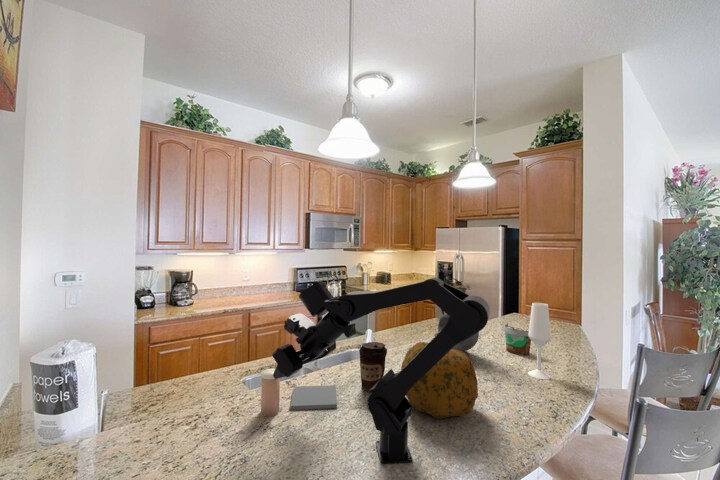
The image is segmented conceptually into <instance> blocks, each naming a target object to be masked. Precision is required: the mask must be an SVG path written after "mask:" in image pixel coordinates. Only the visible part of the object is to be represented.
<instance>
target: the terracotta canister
mask: <svg viewBox="0 0 720 480" xmlns="http://www.w3.org/2000/svg"><path fill="white" fill-rule="evenodd" d="M275 369H276V368H266V369H264V370H262V371H261V372H260V375H261V377H260V378H261V383H260V384H261V388H260V391H261V392H260V393H261V394H260V395H261V396H260V416H263V417H273V416H275V415H278V414H279V412H280V397H281V396H280V395H281V394H280V389H281V386H280V385H281V384H280V383H281V378H277V379H275V378H274V376H273V374H274V371H275Z"/></svg>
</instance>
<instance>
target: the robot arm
mask: <svg viewBox="0 0 720 480" xmlns="http://www.w3.org/2000/svg"><path fill="white" fill-rule="evenodd" d="M298 298H299V300H300V301H301V302H302V304H303V306H305V309H307V310H308V312H309V314H310V315H311V316H312V317H313V318H314V317H316V316H317V317H318V318H321V317H322V319H320V320H319V321H318V322H317V323H314V321H313V320H311V319H310V318H309V317H307V316H306V315H305V314H303V313H301V312H300V313H296V314H293V315H290V316H289V317H288V318H287V319H286V320H285V321H284V322H283V323H284V325H283V328H284V330H285V332H287V333H289V334H290V335H292V334H293V335H294V336H296V339H295V342H296V343H297V344H298V345H299V348H300V349H299V350H296V348H295V347H294V345H293V344H289V343H286V344H284V345H281V346H279V347H277V348H276V349H275V350H274V351H273V352H272V358H273V359H274V361H275V362H276V364H277V365H276V367H275V368H274V369H275V371H274V374H273V376H274V378H275V379H277V378H280V379H281V378H289V377H292V376H293V375H295V374H297V373H298V372H299V371H300V370H301V369H302V368H303V366H304V365H305V364H308V363H311V362H315V361H318V360H321V359H323V358H325V357H326V356H328V355H330V354H331V353H333V352H334V351H335V350H336V349H337V343H336V341H337V339H339V338H340V337H341V336H342V335H343V334H344V336H345V338H347V339H349V338H351V337H352V336H354V335H356V334H357V330H356V323H355V322H353V321H355V320H357V319H360V318H362V317H364V316H367V315H370V314H371V313H374V312H376V311H380V310H383V309H389V308H393V307H398V306H403V305H407V304H412V303H417V302H422V301H426V300H428V301H431V302H432V303H434V304H435V305H436V306H437V307H439V308H440V310H441V309H442V310H443V311H444V314H445V313H446V314H448V315H449V316H450V317H449V319H448V321H447V322H446V324H445V325H444V327H443V329H442V330H441V331H440V332H439V333H438V332H437V333H438V334H437V335H436V336H435V335H434V337H433V338H432V339H431V340H430V341H429V342H427V343H428V344H427V345H426V346H425V347H424V348H423V349H422V350H421V351H420V352H419V353H418V354H417V355H416V356H415V357H414V358H413V359H412V360H411V361H410V362H409V363H408V364H407V365H406V366H405V367H404V368H403V369H402V370H401V369H400V371H398V372H396V373H395V372H394V371H393V369H392V368H390V369H389V370H388V371H387V372H386V373H384V375H383V377H382V378H381V379H380V380H379V381H378V382H377V383H376V384H375V385H374V386H373V387H372V388H371V389H370V390H369V392H368V393H370V394H369V395H368V397H367V399H366V402H367V407H368V411H369V412H370V414H371V417H372V419H373V420H372V421H373V424H374V427H375V429H376V431H378V432H379V440H376V441H375V446H376V450H377V454H378V458H379V462H380V463H381V464H396V463H400V464H401V463H412V462H413V460H414V459H413V455H412V453H411V450H410V449H409V446H408V444H409V442H408V439H409V438H408V433H409V422H408V420H409V418H410V417H411V415H412V413H413V411H414V406H413V405H412V404H411V403H410V402H409V400H408V398H407V396H406V395H407V393H408V392H409V390H410V389H411V388H412V387H413V386H414V385H415V384H416V383H417V382H418V381H419V380H420V379H421V378H422V377H423V376H424V375H425V374H426V373H427V372H428V371H429V370H430V369H431V368H432V367H433V366H434V365H435V364H436V363H438V362H439V361H440V360H441V359H442V358H443V357H444V356H445V355H446V354H447V353H448V352H449V351H450V350H451V349H452V348H453V347H454V346H455V345H457V344H458V343H460V342H462V341H464V340H466V339H468V338H470V337H471V336H473V335H474V334H476V333H478V332H479V333H480V332H481V331H482V330H483V329H484V328H485V327H486V325H487V324H488V320H489V319H490V318H489V317H490V315H491V310H490V309H491V308H490V305H489V303H488V302H487V301H486V300H485V299H484V298H483V297H481V296H478V295H470V294H467V292H465V293H464V292H463V291H461V290H459V289H457V288H455V287H453V286H450V284H448V283H447V282H445V281H443V279H440V278H439V277H431V278H428V279H426V280H421V281H417V282H414V283H409V284H405V285H400V286H396V287H391V288H388V289H384V290H383V289H382V290H378V291H377V290H362V291H354V292H350V293H347V294H343V295H339V296H336V297H335V296H333V294H332V293H331V291H330V290H329V288H327V286H326V284H325V283H324V281H323V280H316V281H315V282H314V284H311V285H309V286H308V287H306V288H305V289H303V290H301V292H300V293H299V294H298Z"/></svg>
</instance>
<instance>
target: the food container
mask: <svg viewBox="0 0 720 480" xmlns="http://www.w3.org/2000/svg"><path fill="white" fill-rule="evenodd" d="M503 332H504V338H505V339H504V340H505V349H506V351H507V352H508V353H510V354H513V355H517V356H530V354H531V353H530V352H531V345H532V344H531V343H532V341H531V339H530V338H529V336H528V333H529V330H524V329H522V328H519V327H512V326H509V323H506V324H504V326H503Z"/></svg>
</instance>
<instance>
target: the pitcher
mask: <svg viewBox="0 0 720 480" xmlns="http://www.w3.org/2000/svg"><path fill="white" fill-rule="evenodd" d="M452 279H453V280H454V281H455V282H453V281H451V282H450V281H449V285H450V286H453V287H455V288H457V289H459V290H461V291H463V292H464V293H467V290H469V291H471V290H472V288H471V286H470V285H464V284H463V281H462V280H458V279H457V278H454V277H453V278H452ZM440 311H441V314H442V315H441V317H440V318H439V320H438V324H437V333H439V332H440V331H441V330H442V329H443V327H444V325H445V324H446V322H447V321H448V319H449V317H450V316H449V315H448V314H446V313H445V312H444V311H443V310H442V309H441V308H440ZM479 337H480V331H479V332H478V333H476V334H474V335H473V336H471V337H470V338H468V339H466V340H464V341H462V342H460V343H458V344H457V345H455V346H454V347H453V348H452V349H454V350H458V351H462V352H464V353H465V354H466V355H467V356H468V355H469V354H468V352H467V351H469V350H471V349H473V348H474V346H476V344H477V342H478V340H479Z"/></svg>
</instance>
